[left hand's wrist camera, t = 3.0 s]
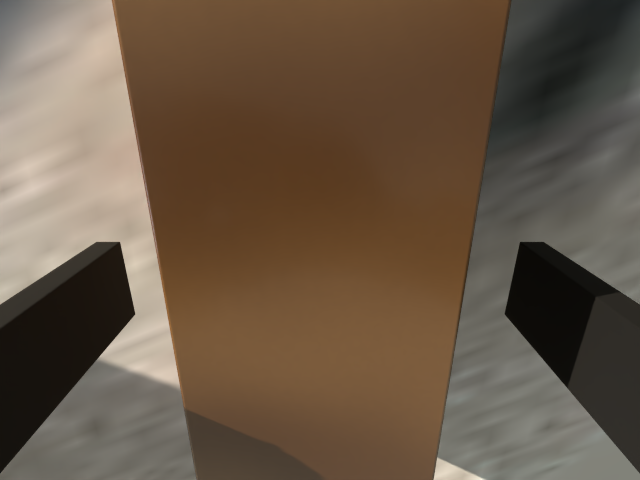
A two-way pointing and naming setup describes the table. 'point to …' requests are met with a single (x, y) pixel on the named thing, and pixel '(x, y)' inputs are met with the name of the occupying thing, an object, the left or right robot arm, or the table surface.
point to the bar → (313, 219)
